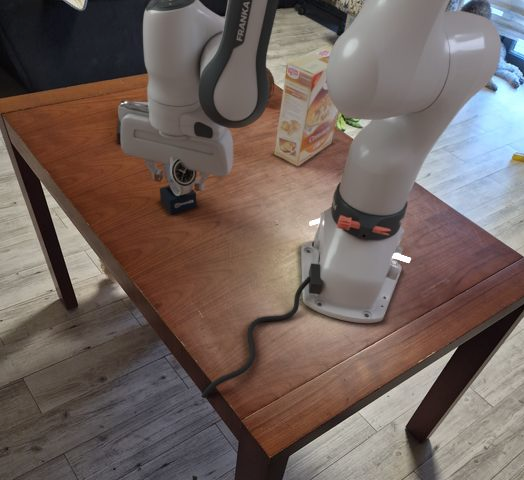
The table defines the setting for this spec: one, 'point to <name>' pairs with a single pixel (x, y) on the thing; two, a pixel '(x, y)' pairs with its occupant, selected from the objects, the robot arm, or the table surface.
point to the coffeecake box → (306, 108)
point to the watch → (178, 187)
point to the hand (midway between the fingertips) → (178, 184)
